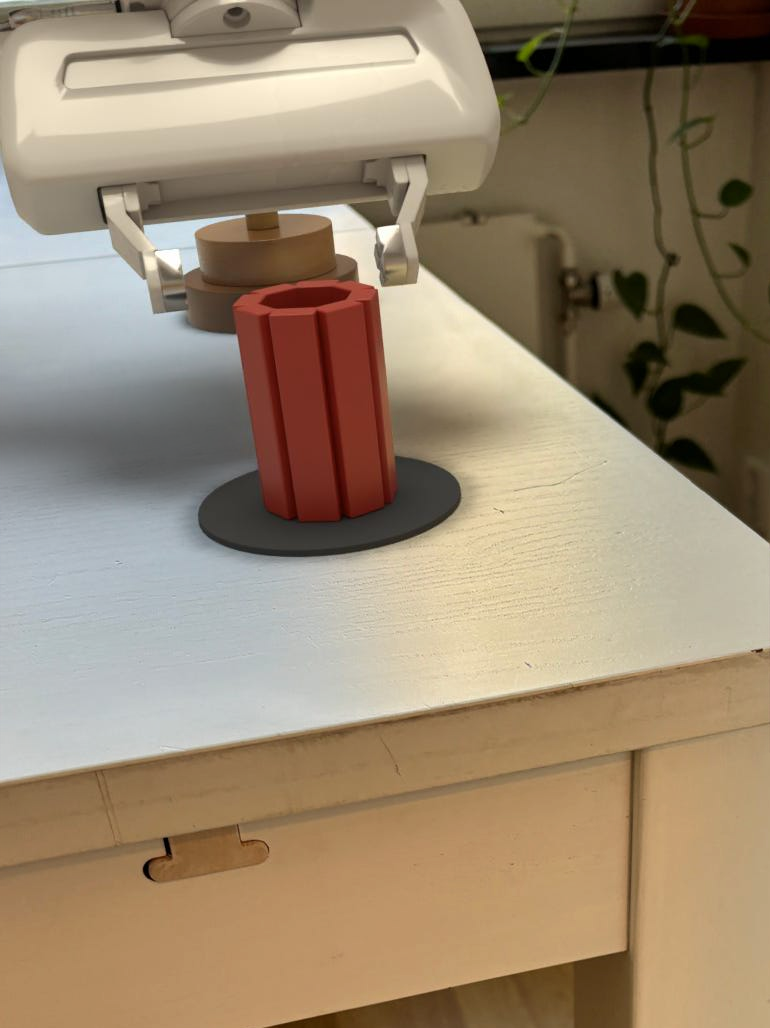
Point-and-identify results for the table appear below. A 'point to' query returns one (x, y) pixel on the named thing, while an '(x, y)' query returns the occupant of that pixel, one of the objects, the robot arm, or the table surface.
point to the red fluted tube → (318, 398)
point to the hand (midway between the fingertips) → (287, 291)
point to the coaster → (251, 528)
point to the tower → (259, 262)
